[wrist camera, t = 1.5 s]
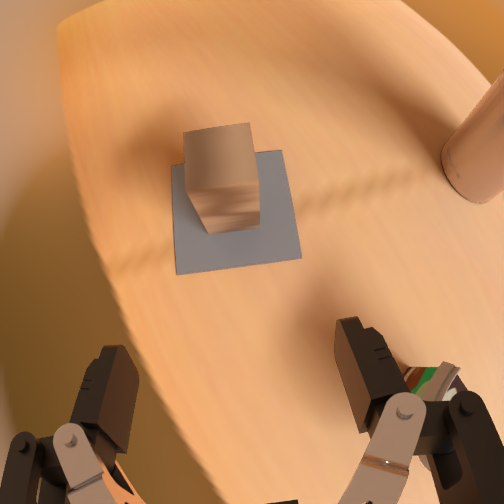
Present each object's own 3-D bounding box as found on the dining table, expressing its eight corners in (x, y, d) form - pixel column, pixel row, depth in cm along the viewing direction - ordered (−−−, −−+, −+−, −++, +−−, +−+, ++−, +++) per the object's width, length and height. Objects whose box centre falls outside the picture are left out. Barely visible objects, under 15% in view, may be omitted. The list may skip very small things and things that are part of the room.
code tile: (281, 150, 33) (281, 149, 33) (302, 258, 30) (302, 258, 30) (171, 166, 33) (171, 165, 33) (177, 275, 30) (176, 274, 30)
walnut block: (253, 182, 32) (249, 122, 22) (260, 227, 31) (259, 180, 21) (205, 189, 32) (183, 132, 22) (209, 235, 31) (185, 190, 21)
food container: (355, 400, 26) (396, 427, 17) (401, 356, 27) (457, 362, 17) (416, 470, 24) (463, 507, 14) (456, 430, 24) (512, 452, 15)
